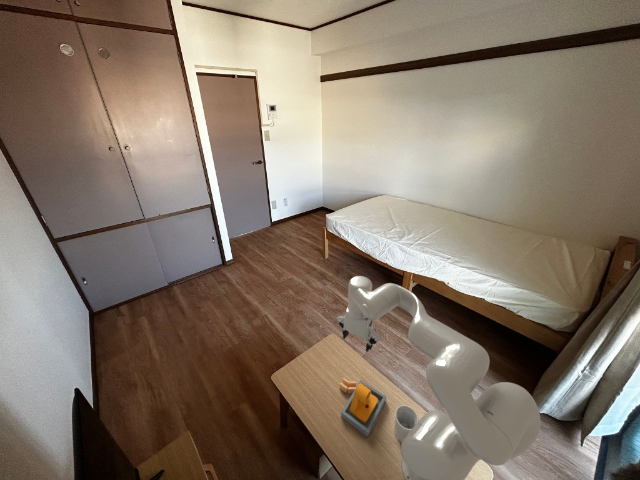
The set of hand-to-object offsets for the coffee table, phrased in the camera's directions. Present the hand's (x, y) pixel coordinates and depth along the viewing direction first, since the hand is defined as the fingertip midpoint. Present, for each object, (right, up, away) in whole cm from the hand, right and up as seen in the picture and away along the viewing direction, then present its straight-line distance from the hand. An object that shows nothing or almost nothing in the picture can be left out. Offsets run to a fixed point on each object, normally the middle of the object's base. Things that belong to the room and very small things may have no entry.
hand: (356, 342), depth 93 cm
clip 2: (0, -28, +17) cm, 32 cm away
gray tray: (+4, -32, +10) cm, 33 cm away
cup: (+18, -36, +2) cm, 40 cm away
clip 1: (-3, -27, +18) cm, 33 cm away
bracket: (+4, -31, +9) cm, 33 cm away
